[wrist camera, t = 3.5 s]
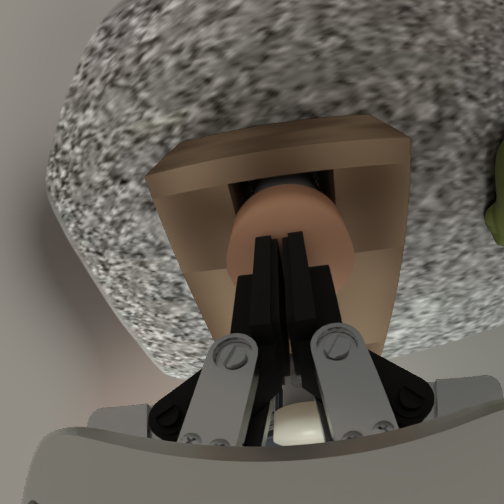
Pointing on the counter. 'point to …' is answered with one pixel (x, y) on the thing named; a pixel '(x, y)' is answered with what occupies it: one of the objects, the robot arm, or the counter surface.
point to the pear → (497, 200)
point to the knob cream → (296, 417)
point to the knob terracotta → (291, 226)
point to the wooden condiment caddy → (284, 163)
